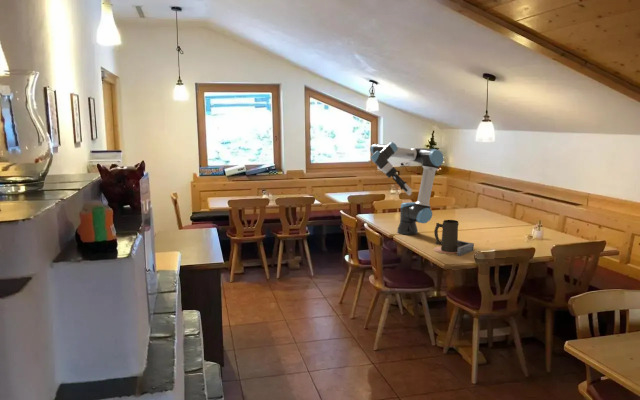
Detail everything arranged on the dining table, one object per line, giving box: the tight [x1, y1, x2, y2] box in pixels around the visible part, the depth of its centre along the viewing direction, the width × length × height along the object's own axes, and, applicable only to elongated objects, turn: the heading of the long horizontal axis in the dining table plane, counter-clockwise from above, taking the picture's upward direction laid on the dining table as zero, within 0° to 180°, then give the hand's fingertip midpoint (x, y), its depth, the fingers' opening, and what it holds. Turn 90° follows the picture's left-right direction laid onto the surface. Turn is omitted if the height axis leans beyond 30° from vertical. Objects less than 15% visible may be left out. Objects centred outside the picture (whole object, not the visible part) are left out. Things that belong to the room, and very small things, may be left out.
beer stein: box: [433, 219, 459, 252], centre depth 332 cm, size 15×11×20 cm
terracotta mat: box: [433, 246, 457, 255], centre depth 334 cm, size 16×16×1 cm
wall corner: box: [456, 240, 475, 257], centre depth 335 cm, size 18×21×5 cm
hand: (410, 193), depth 344 cm, fingers open, 13 cm apart
